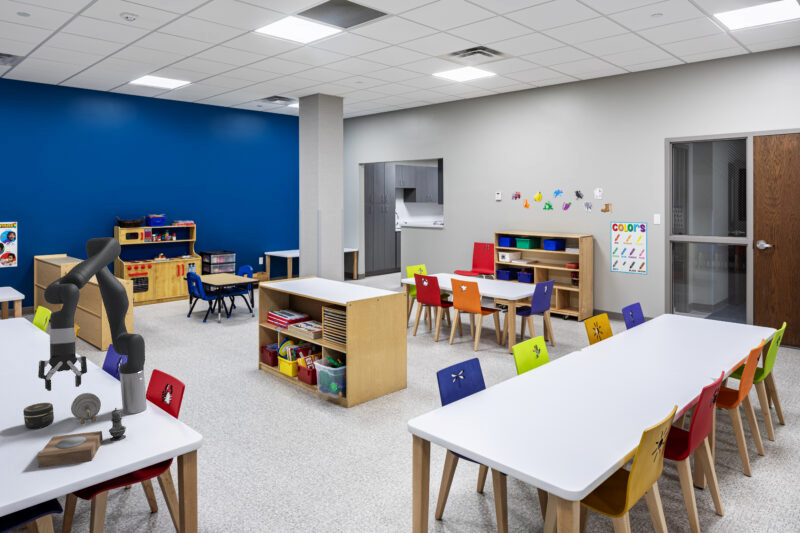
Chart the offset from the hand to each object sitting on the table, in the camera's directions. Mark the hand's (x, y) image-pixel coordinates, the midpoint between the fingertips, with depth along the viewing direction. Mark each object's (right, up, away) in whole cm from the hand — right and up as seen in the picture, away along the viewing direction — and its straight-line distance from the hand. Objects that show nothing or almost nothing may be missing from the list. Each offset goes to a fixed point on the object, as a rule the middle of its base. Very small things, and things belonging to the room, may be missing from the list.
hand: (63, 388), depth 188 cm
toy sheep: (-12, -21, +34) cm, 42 cm away
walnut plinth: (0, -24, +5) cm, 25 cm away
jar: (-28, -22, +31) cm, 47 cm away
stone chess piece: (+10, -23, +17) cm, 30 cm away
